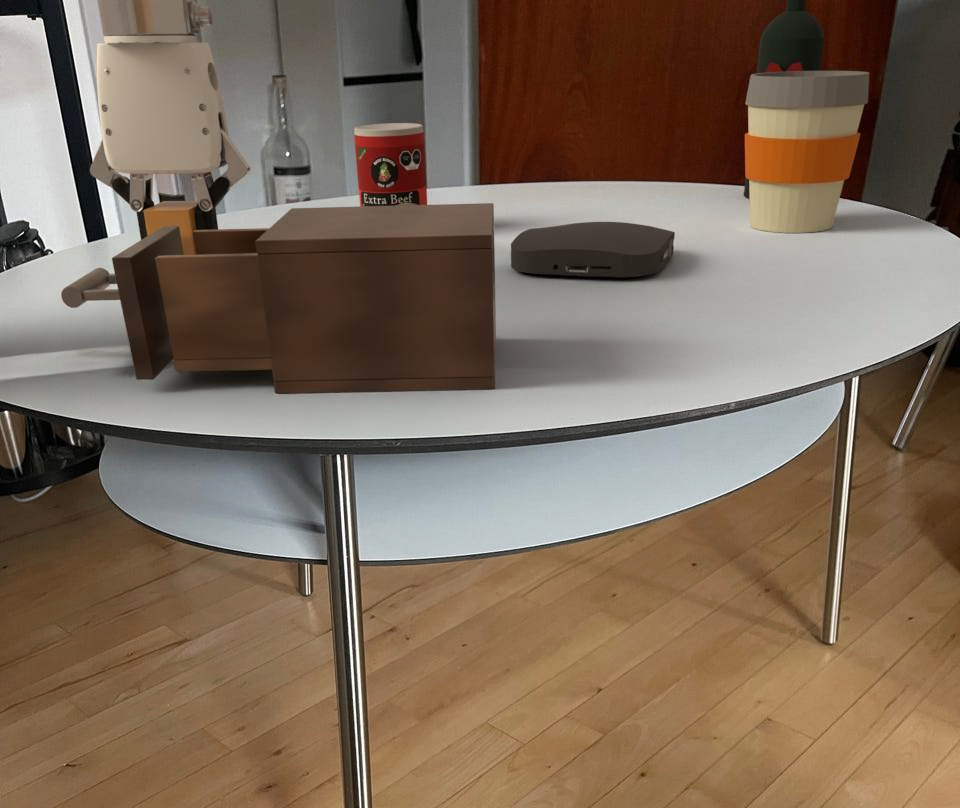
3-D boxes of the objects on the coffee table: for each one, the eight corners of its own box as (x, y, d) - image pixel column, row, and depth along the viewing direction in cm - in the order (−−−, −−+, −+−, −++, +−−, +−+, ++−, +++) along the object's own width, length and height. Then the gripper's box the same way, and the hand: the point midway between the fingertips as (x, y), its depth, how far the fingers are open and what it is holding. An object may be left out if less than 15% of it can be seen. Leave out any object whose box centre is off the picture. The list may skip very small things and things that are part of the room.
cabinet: (275, 393, 68) (254, 240, 63) (306, 342, 79) (290, 208, 74) (494, 389, 67) (491, 234, 62) (496, 337, 78) (493, 202, 73)
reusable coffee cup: (735, 235, 111) (750, 78, 103) (731, 216, 122) (745, 72, 114) (856, 236, 109) (880, 75, 101) (841, 216, 119) (863, 69, 112)
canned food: (355, 238, 116) (346, 130, 110) (371, 226, 122) (363, 123, 117) (421, 238, 115) (416, 129, 109) (434, 225, 121) (429, 122, 116)
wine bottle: (736, 202, 130) (763, -86, 115) (748, 190, 138) (775, -80, 123) (799, 204, 128) (837, -90, 112) (808, 192, 136) (844, -84, 120)
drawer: (63, 381, 68) (34, 259, 64) (118, 336, 78) (95, 227, 74) (337, 376, 68) (325, 252, 64) (358, 331, 78) (348, 221, 73)
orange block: (196, 264, 91) (188, 209, 89) (151, 264, 91) (143, 210, 89) (213, 252, 96) (206, 200, 94) (170, 252, 96) (163, 201, 94)
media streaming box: (540, 247, 108) (540, 216, 107) (679, 251, 104) (681, 220, 103) (500, 276, 97) (500, 243, 95) (655, 283, 93) (657, 248, 91)
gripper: (258, 23, 88) (281, 249, 97) (65, 25, 88) (106, 250, 97) (239, 21, 81) (265, 263, 90) (30, 23, 81) (77, 264, 91)
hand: (182, 254), depth 94 cm, fingers closed on orange block, 4 cm apart
